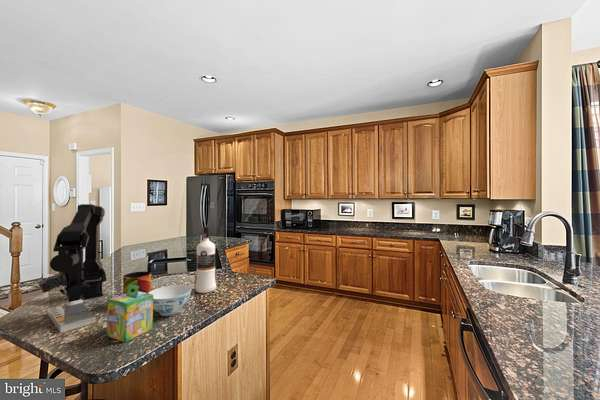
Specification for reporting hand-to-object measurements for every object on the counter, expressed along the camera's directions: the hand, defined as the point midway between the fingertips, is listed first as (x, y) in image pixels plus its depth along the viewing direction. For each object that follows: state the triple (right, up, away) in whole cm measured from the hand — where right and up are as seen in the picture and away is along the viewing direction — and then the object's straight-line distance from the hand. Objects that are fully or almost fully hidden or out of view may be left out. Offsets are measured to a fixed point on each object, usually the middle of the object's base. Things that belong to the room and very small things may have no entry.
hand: (72, 309), depth 90 cm
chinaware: (+31, -4, +6) cm, 32 cm away
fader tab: (+2, -1, -2) cm, 3 cm away
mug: (+13, -4, +16) cm, 21 cm away
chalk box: (+27, -4, -9) cm, 29 cm away
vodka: (+36, -4, +30) cm, 47 cm away
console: (-2, -4, +1) cm, 4 cm away
